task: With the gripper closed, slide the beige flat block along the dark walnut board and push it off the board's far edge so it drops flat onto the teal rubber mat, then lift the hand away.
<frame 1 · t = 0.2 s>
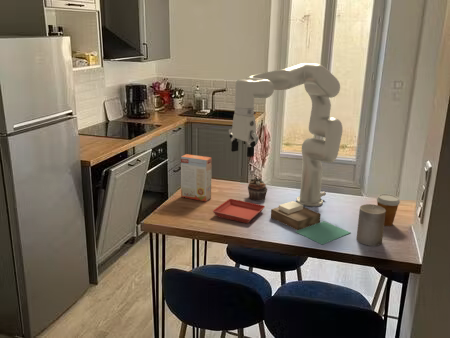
hand: (242, 153, 175), 31 cm above the table, tool pointing down, fingers open, 9 cm apart
mat: (323, 232, 177), on the table
beige flat block: (290, 209, 190), point 4 cm above the table, touching deck
plant saucer: (239, 215, 194), on the table
cracker box: (196, 198, 212), on the table
cupcake: (257, 198, 215), on the table
pillar candle: (368, 241, 171), on the table
disposable coffee cup: (384, 223, 188), on the table
deck: (295, 220, 189), on the table
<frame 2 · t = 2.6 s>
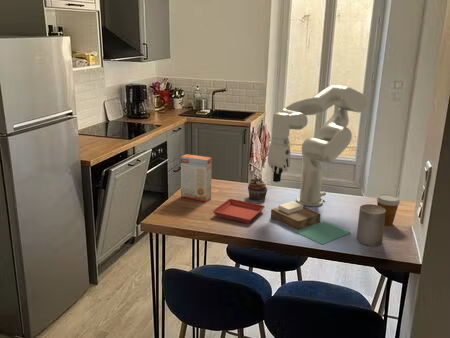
hand: (276, 181, 193), 15 cm above the table, tool pointing down, fingers closed
nothing on the table moved.
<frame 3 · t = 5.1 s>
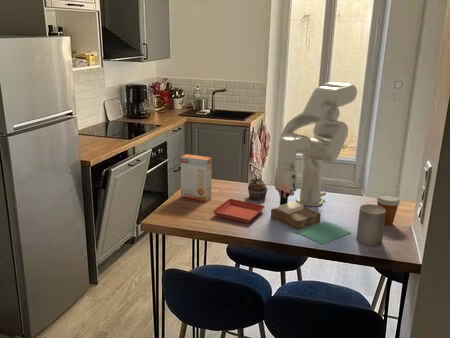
hand: (283, 204, 193), 5 cm above the table, tool pointing down, fingers closed
beige flat block: (291, 209, 190), point 4 cm above the table, touching deck, gripper
everything else where it was.
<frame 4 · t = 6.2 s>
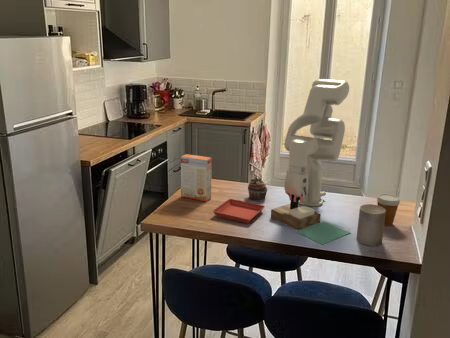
hand: (293, 209, 188), 5 cm above the table, tool pointing down, fingers closed
beige flat block: (301, 214, 185), point 4 cm above the table, touching deck
everything else where it was.
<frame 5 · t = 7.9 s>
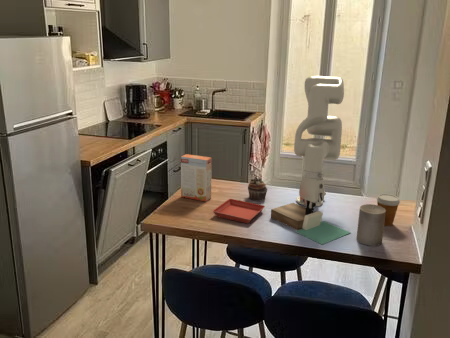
hand: (309, 215, 182), 5 cm above the table, tool pointing down, fingers closed
beige flat block: (310, 219, 181), point 4 cm above the table, tilted 100°, touching mat
everything else where it was.
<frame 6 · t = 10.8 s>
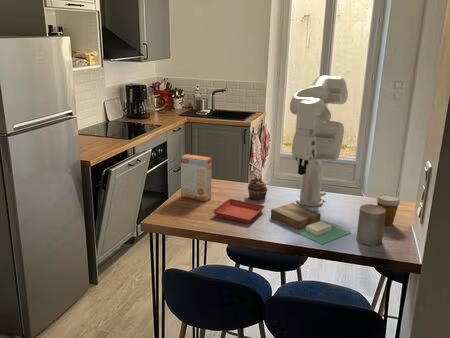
hand: (301, 173, 182), 21 cm above the table, tool pointing down, fingers closed
beige flat block: (318, 225, 178), point 2 cm above the table, tilted 180°, touching mat
everything else where it was.
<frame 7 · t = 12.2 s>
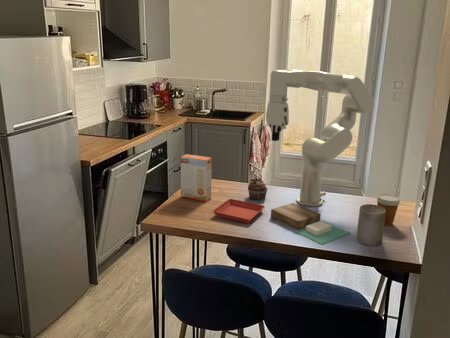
hand: (275, 140, 194), 32 cm above the table, tool pointing down, fingers closed
nothing on the table moved.
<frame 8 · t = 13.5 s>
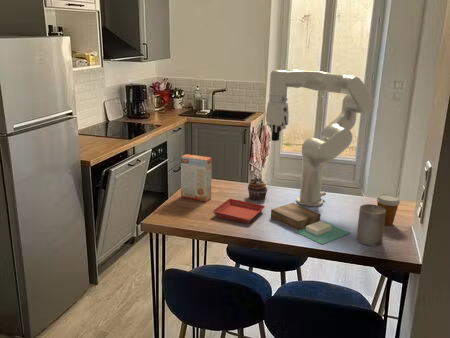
hand: (275, 140, 194), 32 cm above the table, tool pointing down, fingers closed
nothing on the table moved.
at the end: beige flat block inside the target area on the mat (2.1 cm from its centre), point 2.3 cm above the mat's base; beige flat block point 2.3 cm above the table; beige flat block touching mat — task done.
